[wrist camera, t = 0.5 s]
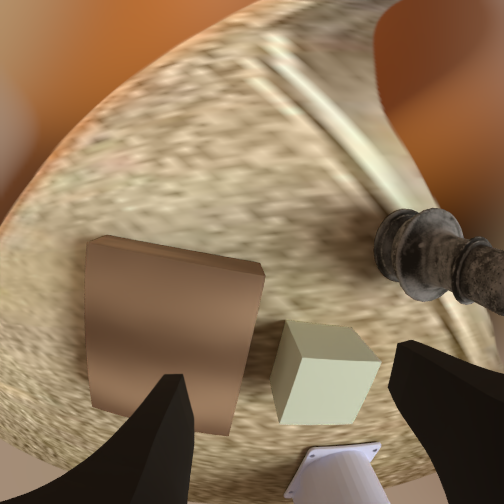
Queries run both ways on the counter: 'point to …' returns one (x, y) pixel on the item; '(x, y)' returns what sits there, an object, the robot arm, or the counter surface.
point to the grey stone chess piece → (439, 259)
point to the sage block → (321, 374)
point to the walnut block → (168, 325)
